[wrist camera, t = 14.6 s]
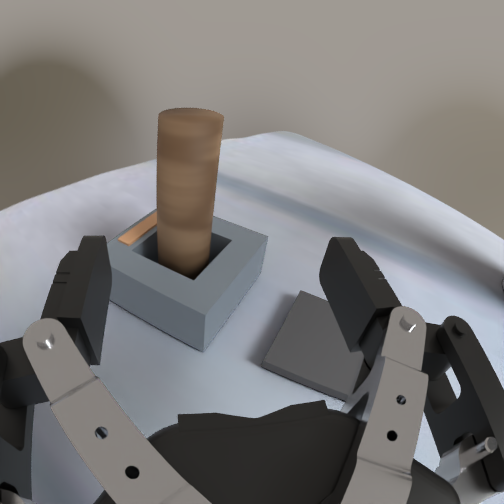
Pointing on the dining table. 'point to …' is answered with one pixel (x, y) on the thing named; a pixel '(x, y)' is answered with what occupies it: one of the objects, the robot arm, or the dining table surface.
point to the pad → (313, 349)
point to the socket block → (184, 279)
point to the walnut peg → (186, 187)
